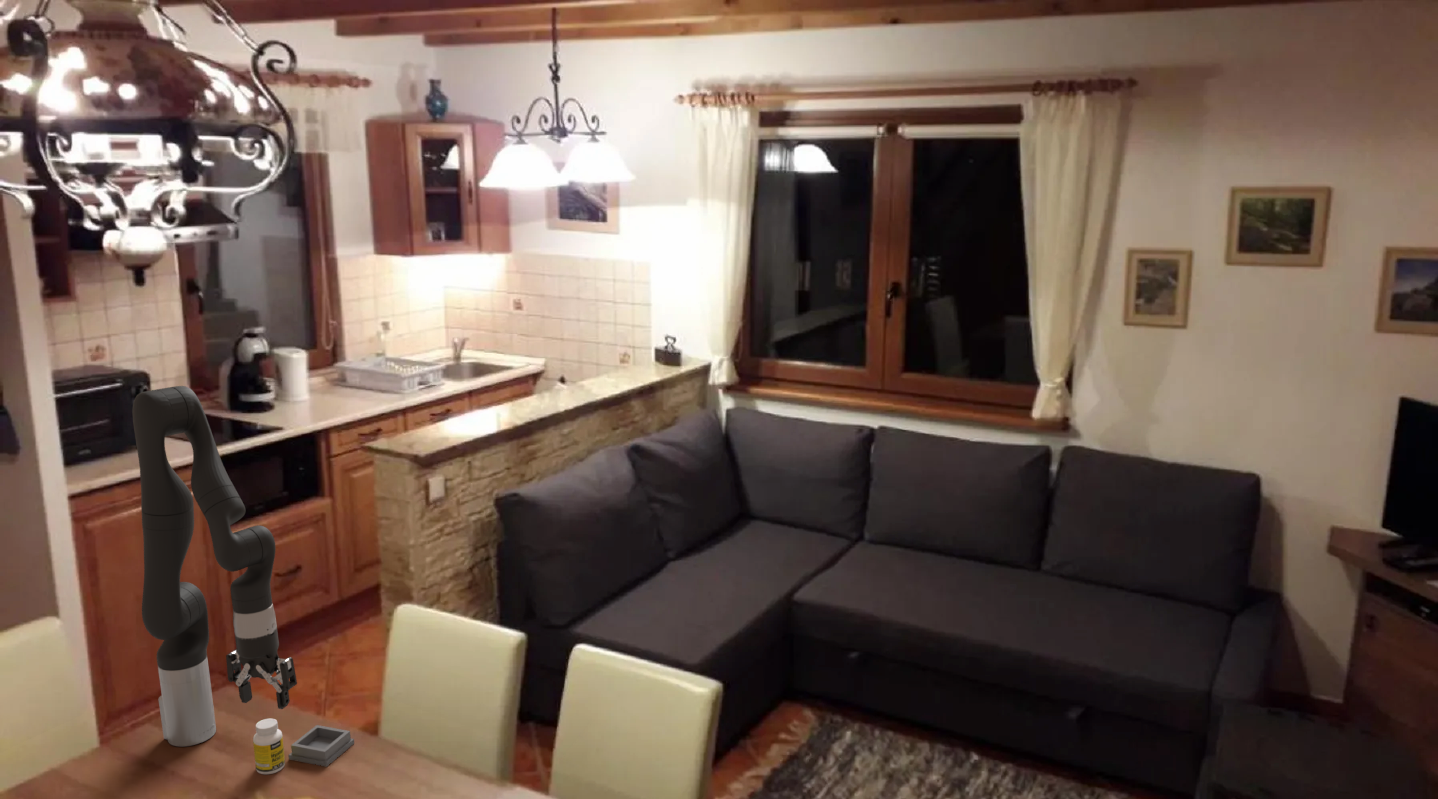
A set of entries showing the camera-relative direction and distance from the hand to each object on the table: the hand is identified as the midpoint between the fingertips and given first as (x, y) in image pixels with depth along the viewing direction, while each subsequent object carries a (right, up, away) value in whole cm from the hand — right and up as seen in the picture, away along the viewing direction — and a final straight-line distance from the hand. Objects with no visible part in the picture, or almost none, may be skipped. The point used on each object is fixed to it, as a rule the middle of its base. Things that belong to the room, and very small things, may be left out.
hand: (265, 704), depth 211 cm
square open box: (+8, -12, +9) cm, 17 cm away
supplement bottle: (0, -14, +3) cm, 14 cm away
